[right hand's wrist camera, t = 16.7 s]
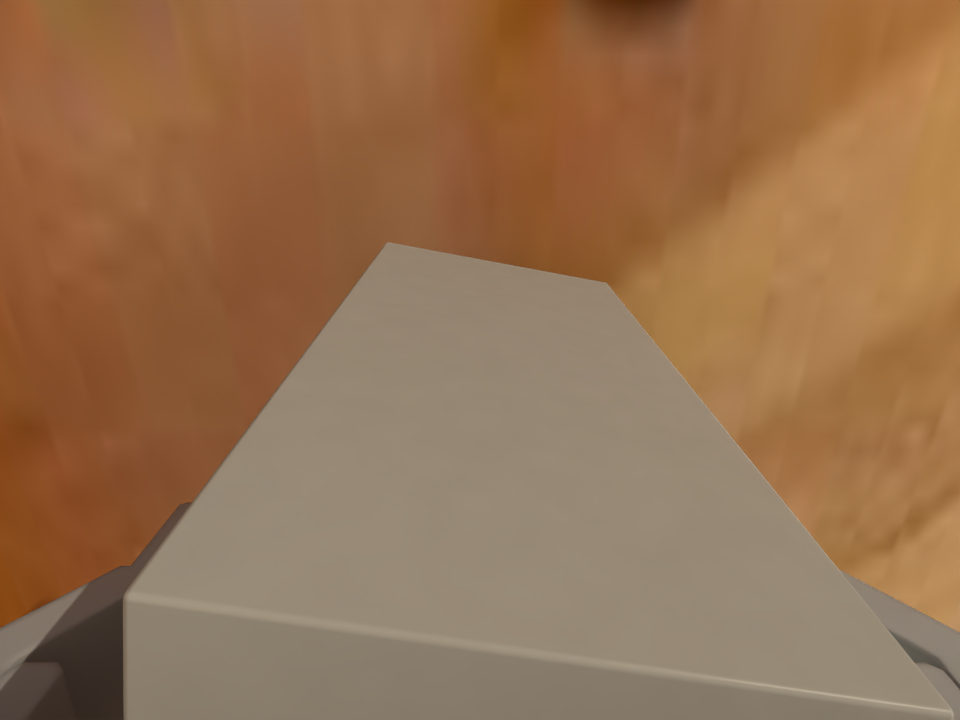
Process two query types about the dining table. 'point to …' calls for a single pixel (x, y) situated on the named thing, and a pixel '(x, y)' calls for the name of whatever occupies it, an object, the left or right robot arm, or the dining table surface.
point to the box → (497, 534)
